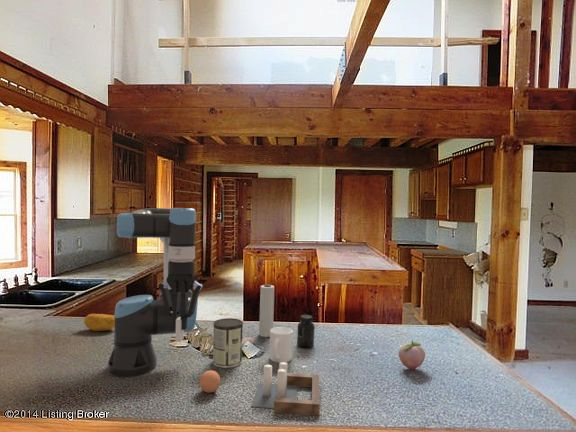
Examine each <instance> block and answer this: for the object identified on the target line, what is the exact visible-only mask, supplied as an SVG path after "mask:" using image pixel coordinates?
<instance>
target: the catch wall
mask: <svg viewBox="0 0 576 432" xmlns="http://www.w3.org/2000/svg"><path fill="white" fill-rule="evenodd" d="M287 385H297V387H301V388H303V387H304V388H305V387H306V388H311V399H299V398H298V399H297V398H296V399H287V398H275V400H274V409H273V413H274V414H275V413H276V414H278V413H279V414H287V415H288V414H289V415H303V416H304V415H305V416H317V417H318V416H320V406H321V405H320V375H319V374H310V373H308V374H307V373H295V372H294V373H293V372H292V373H291V372H287Z"/></svg>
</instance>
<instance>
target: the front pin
mask: <svg viewBox="0 0 576 432" xmlns="http://www.w3.org/2000/svg"><path fill="white" fill-rule="evenodd" d="M272 375H273V366H272V365H271V364H264V365H263V382H262V383H263V396H265V397H269V396H271V386H272V384H273V382H272V379H273V378H272V377H273V376H272Z"/></svg>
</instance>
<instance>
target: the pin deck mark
mask: <svg viewBox="0 0 576 432" xmlns="http://www.w3.org/2000/svg"><path fill="white" fill-rule="evenodd" d="M297 395H298V386H297V385H287V392H286V393H285V398H287V399H297ZM275 398H277V383H272V386H271V396H269V397H265V396H263V382H259V383H258V385H257V387H256V391H255V393H254V396H253V399H252V402H251V406H250V407H251V408H259V409H273V410H274V400H275Z"/></svg>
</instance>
